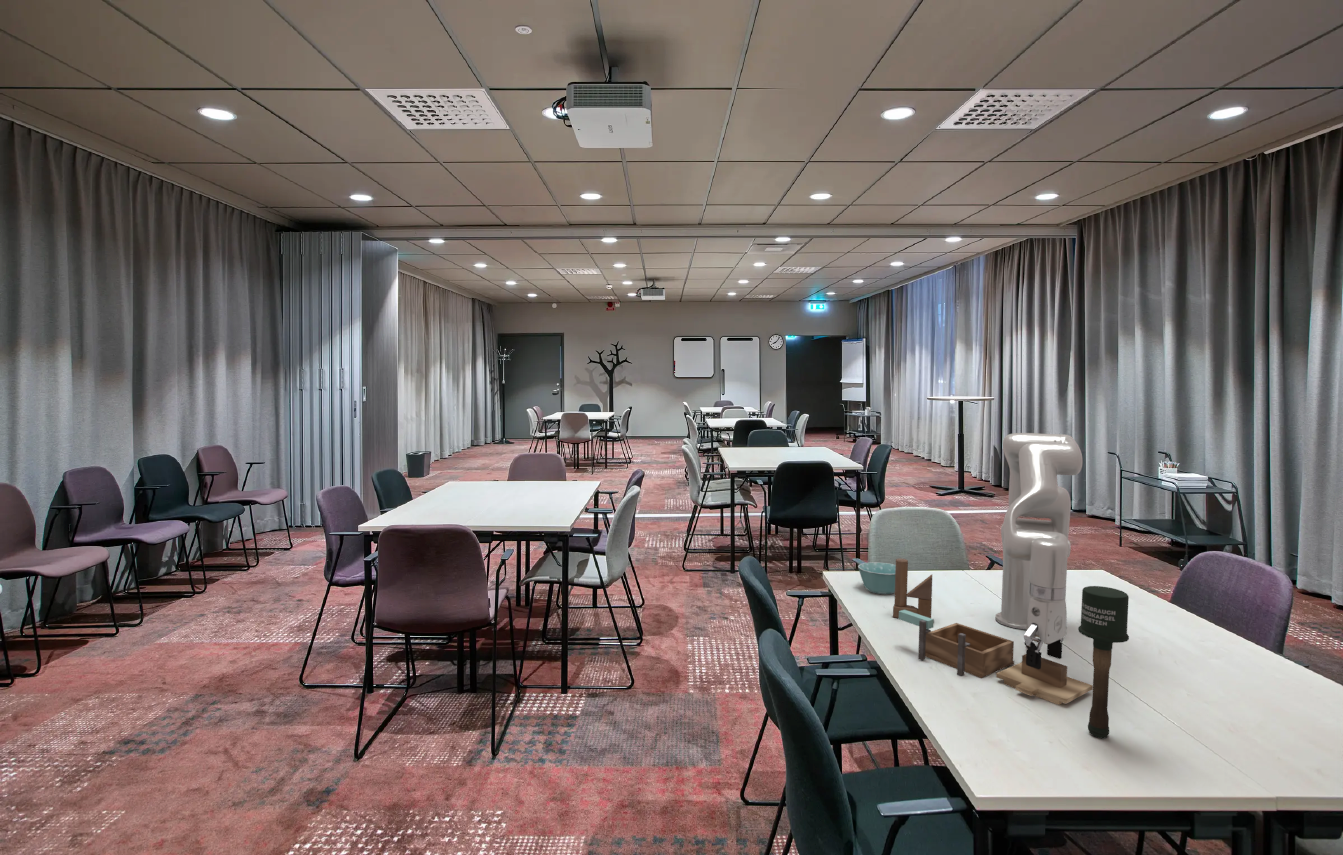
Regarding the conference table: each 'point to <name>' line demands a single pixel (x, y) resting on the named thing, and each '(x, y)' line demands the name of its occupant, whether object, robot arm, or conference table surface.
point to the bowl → (878, 577)
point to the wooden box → (965, 649)
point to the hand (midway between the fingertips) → (1043, 661)
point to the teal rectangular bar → (915, 618)
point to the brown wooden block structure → (911, 592)
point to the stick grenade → (1102, 645)
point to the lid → (1044, 681)
